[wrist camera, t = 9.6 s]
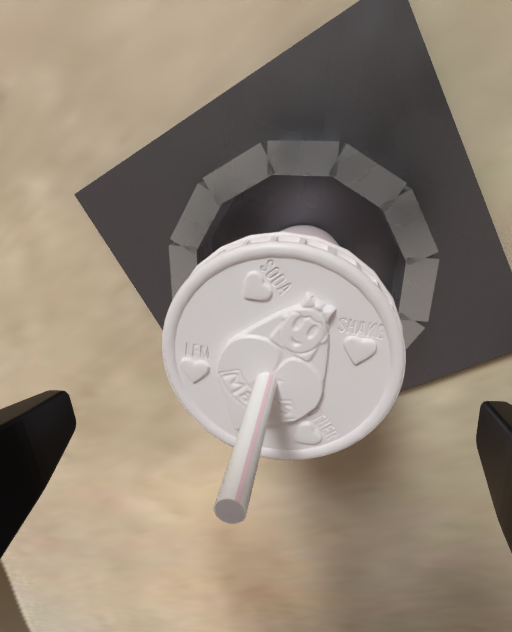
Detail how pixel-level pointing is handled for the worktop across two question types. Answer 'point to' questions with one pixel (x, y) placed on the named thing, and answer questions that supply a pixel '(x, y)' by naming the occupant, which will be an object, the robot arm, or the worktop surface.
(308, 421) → the smoothie
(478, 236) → the duct collar
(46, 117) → the worktop surface
